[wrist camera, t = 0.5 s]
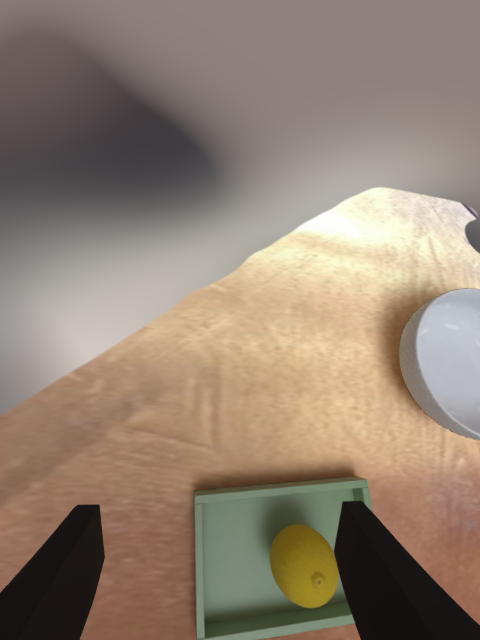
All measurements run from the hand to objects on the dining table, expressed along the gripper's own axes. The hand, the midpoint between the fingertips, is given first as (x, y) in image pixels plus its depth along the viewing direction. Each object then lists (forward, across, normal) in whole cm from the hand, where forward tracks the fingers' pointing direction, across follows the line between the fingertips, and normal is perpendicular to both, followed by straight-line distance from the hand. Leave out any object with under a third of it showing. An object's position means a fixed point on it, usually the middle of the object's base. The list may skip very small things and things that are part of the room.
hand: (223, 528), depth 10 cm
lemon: (+16, -7, +22) cm, 28 cm away
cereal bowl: (+28, -28, +8) cm, 41 cm away
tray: (+16, -7, +22) cm, 28 cm away
